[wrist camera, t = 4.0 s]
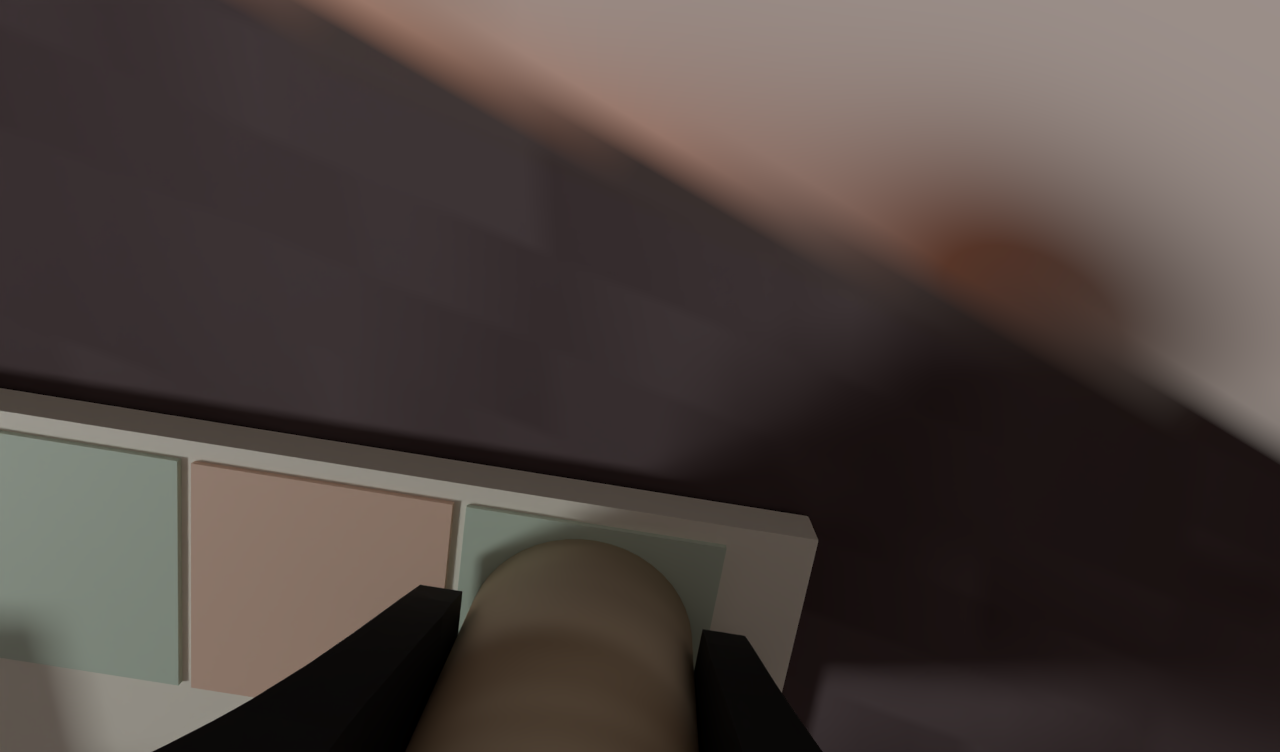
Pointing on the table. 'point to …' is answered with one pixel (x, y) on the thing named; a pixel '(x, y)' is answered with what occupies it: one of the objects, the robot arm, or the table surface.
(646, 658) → the pawn
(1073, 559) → the table surface
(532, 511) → the board
